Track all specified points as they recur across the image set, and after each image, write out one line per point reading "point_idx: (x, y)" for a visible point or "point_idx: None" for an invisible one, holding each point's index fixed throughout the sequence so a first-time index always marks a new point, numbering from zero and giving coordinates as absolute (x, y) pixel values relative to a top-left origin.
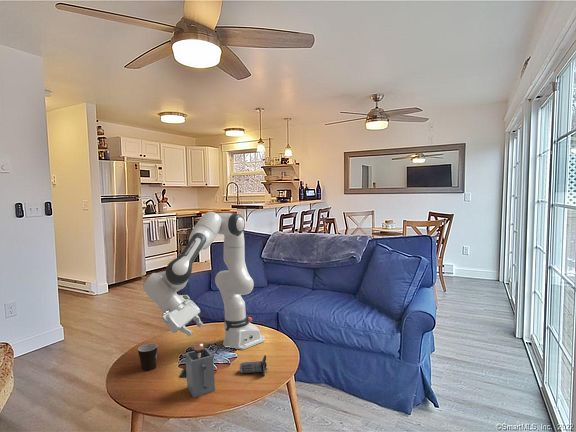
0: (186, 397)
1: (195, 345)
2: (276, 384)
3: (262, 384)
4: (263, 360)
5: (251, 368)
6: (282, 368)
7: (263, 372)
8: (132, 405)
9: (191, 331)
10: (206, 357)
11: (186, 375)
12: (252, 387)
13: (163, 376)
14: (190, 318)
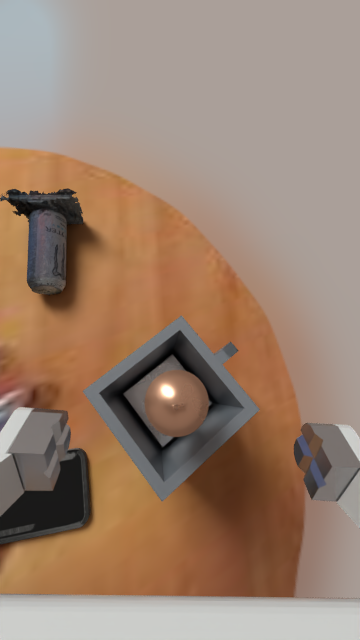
0: None
1: (201, 417)
2: (126, 185)
3: (128, 219)
4: (46, 195)
5: (63, 247)
6: (34, 177)
7: (73, 217)
8: None
9: (328, 438)
10: (204, 344)
11: (83, 495)
12: (145, 243)
13: None
14: (215, 625)
